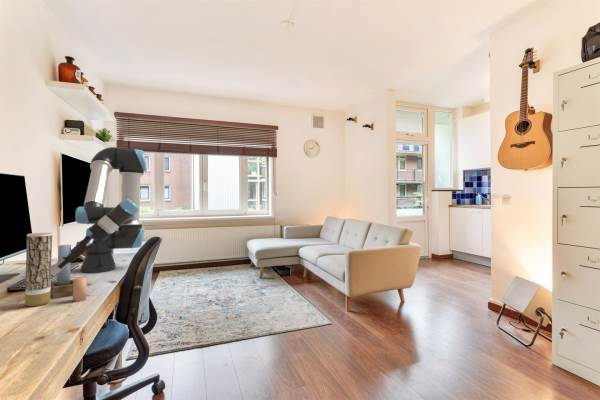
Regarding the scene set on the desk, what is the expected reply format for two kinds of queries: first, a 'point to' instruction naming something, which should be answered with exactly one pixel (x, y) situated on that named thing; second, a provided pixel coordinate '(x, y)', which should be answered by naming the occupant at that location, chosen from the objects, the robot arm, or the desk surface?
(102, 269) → the robot arm
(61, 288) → the walnut socket block
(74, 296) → the terracotta pin
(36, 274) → the bark-patterned canister
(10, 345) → the desk surface
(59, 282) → the slate-blue pin
